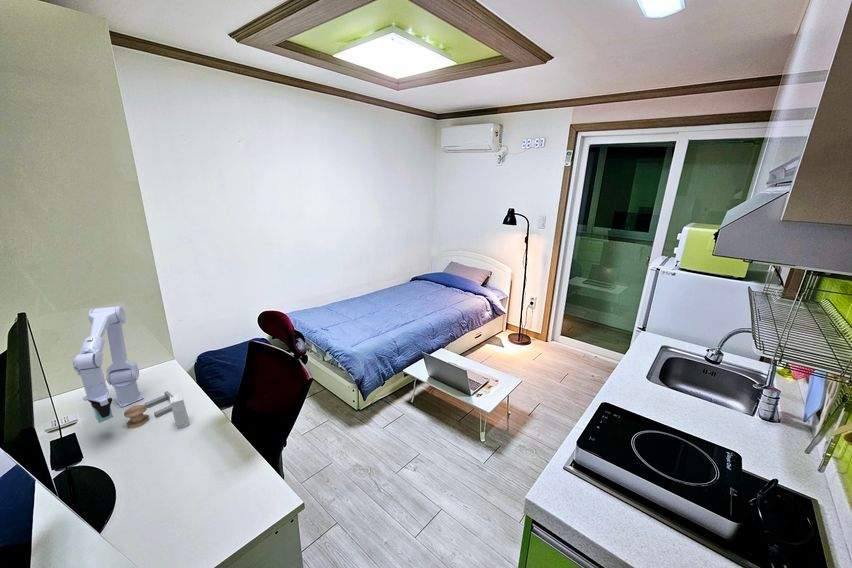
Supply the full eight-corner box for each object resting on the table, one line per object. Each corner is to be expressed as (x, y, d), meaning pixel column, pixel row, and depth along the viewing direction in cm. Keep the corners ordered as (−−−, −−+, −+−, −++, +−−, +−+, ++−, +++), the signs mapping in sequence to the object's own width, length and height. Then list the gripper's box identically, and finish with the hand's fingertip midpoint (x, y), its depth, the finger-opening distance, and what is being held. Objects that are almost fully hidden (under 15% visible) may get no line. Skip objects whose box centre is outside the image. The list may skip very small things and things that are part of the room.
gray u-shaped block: (145, 406, 149) (143, 400, 148) (168, 396, 155) (167, 390, 155) (156, 417, 142) (155, 411, 141) (180, 406, 149) (179, 401, 148)
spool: (124, 422, 139) (121, 411, 137) (145, 413, 144) (142, 402, 142) (130, 430, 135) (127, 418, 133) (152, 420, 140) (149, 408, 139)
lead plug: (96, 418, 130) (91, 404, 127) (109, 413, 133) (105, 398, 131) (99, 423, 127) (94, 408, 125) (113, 417, 131) (108, 402, 129)
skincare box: (189, 424, 139) (184, 399, 135) (176, 429, 136) (170, 403, 132) (188, 416, 143) (182, 392, 139) (174, 421, 140) (169, 396, 137)
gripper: (74, 381, 126) (84, 412, 130) (85, 395, 119) (95, 427, 123) (99, 372, 132) (108, 402, 136) (111, 386, 124) (120, 417, 128)
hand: (103, 414), depth 130 cm, fingers closed on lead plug, 4 cm apart
